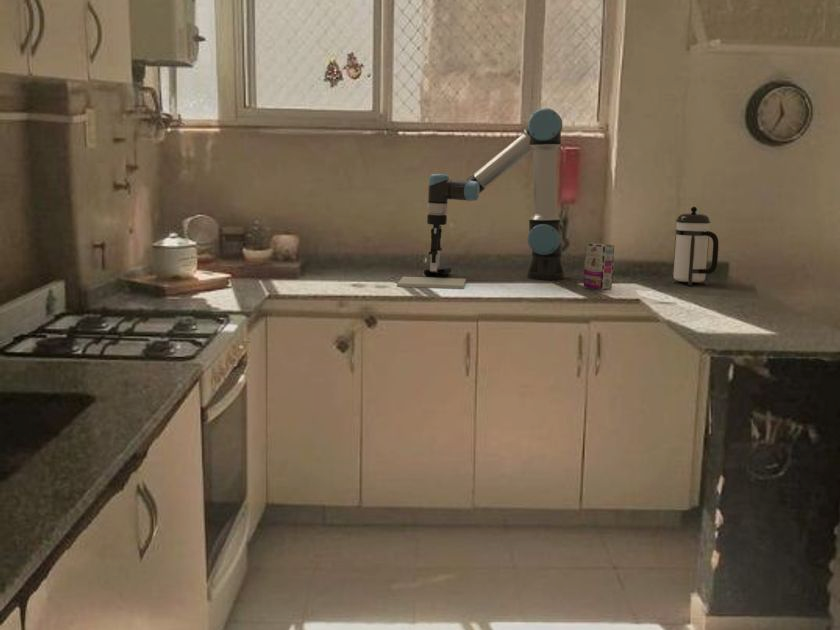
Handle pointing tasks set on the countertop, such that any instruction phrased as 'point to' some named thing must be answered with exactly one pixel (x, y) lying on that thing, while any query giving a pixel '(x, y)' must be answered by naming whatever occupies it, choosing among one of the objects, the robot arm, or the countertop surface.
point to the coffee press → (693, 248)
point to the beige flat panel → (432, 282)
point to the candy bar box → (598, 266)
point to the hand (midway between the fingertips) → (434, 269)
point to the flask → (439, 271)
